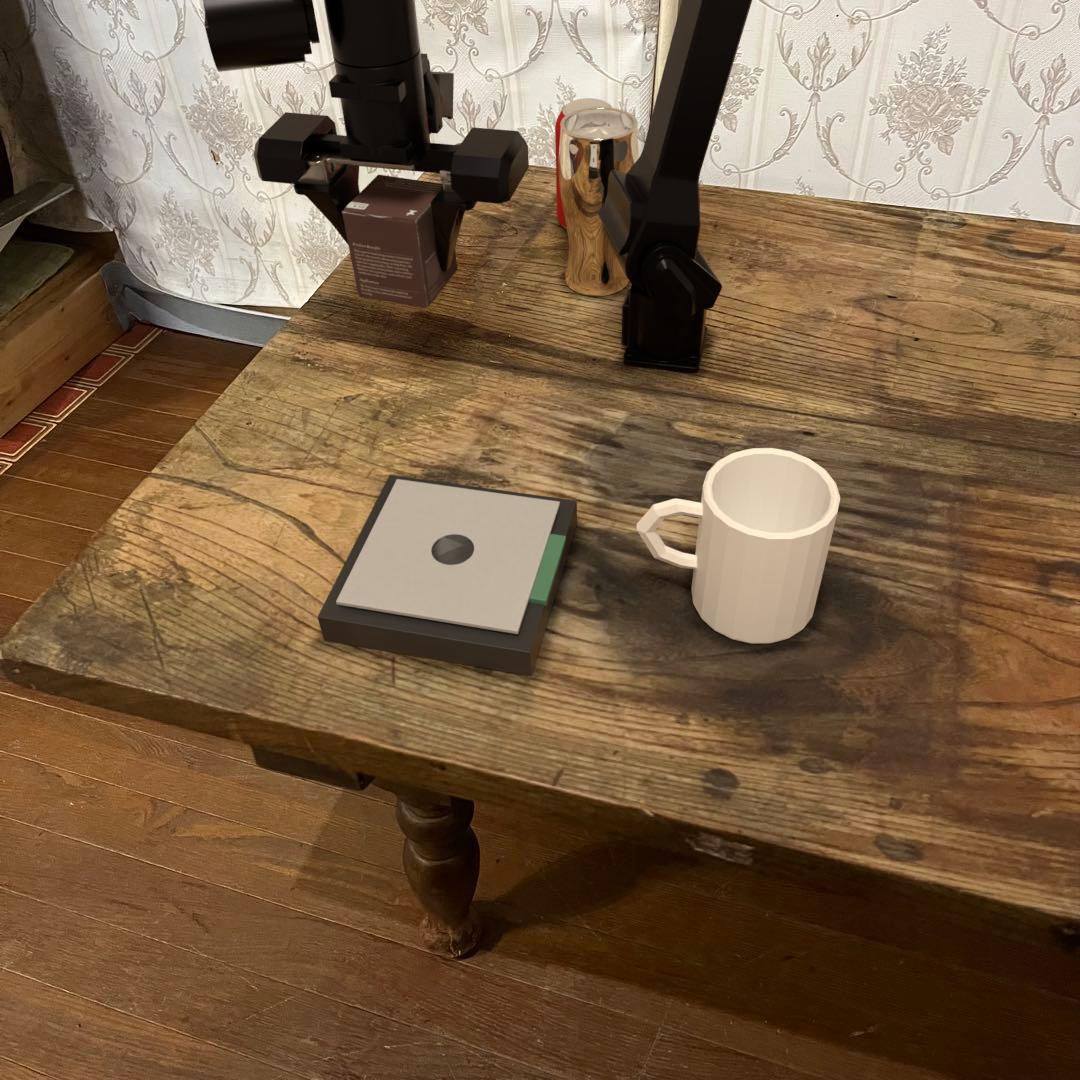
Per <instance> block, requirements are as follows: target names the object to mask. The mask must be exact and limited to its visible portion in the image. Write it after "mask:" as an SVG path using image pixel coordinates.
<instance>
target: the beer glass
mask: <svg viewBox="0 0 1080 1080" xmlns="http://www.w3.org/2000/svg"><path fill="white" fill-rule="evenodd" d="M560 125H561V132H560V146H559V186H560V193H561V200H562V205H563V211H564V216H565V221H566V225H567V229H566V231H567V236H568V257H567V262H566V269H565V273H564V280H565V284H566V286H567V287H569V288H570V290H572V291H574V292H576V293H578V294H581V295H583V296H584V295H585V296H590V297H603V296H610V295H613V294H616V293H619V292H620V291H622V290H623V289H625V288H626V287H627V286H628V284H629V283H630V281H629V280H628V278H627V277H626V275H625V273H624V271H623V269H622V267H621V265H620V264H619V262H618V260H617V258H616V256H615V254H614V252H613V250H612V248H611V246H610V245H609V243H608V241H607V238H606V236H605V233H604V225H603V223H602V221H601V219H600V217H599V216H598V212H599V211H600V209H601V208H602V206H603V205H604V202H605V200H606V197H607V192H608V180H609V174H610V171H611V170H617V171H620V172H624V173H627V172H628V171H629V170H630V169H631V167H632V166H633V165H634V164H635V162H636V161H637V160H638V159H639V157H640V155H639V135H638V133H639V131H638V130H639V129H638V126H639V122H638V119H637V117H636V116H635V115H633V114H632V113H630V112H628V111H626V110H623V109H620V108H617V107H612V108H610V107H591V108H584V109H580V110H576V111H573V112H571V113H569V114H567V115H566V116H565V117H564V118H563V119H562V120H561V124H560Z"/></svg>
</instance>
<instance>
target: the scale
mask: <svg viewBox="0 0 1080 1080" xmlns="http://www.w3.org/2000/svg"><path fill="white" fill-rule="evenodd" d="M366 518H367V519H366V521H365V522H364V524H363V526H362V528H361V530H360V532H359V533H358V536H357V538H356V540H355V542H354V544H353V545H352V548H351V550H350V552H349V554H348V556H347V558H346V559H345V562H344V563H343V566H342V568H341V569H340V572H339V573H338V576H337V577H336V579H335V582H334V583H333V585H332V587H331V589H330V591H329V593H328V594H327V597H326V599H325V601H324V603H323V605H322V606H321V609H320V611H319V613H318V615H317V620H318V624H319V628H320V631H321V634H322V635H321V636H322V638H323V641H325V642H331V643H337V644H342V645H348V646H354V647H359V648H365V649H372V650H377V651H383V652H388V653H395V654H400V655H407V656H412V657H418V658H424V659H429V660H435V661H442V662H446V663H453V664H459V665H464V666H469V667H477V668H482V669H488V670H494V671H499V672H505V673H510V674H515V675H521V676H522V675H523V676H527V677H528V676H529V677H531V676H532V675H533V672H534V668H535V665H536V663H537V659H538V655H539V652H540V649H541V646H542V643H543V638H544V636H545V632H546V629H547V625H548V623H549V619H550V616H551V612H552V609H553V606H554V603H555V599H556V596H557V593H558V589H559V585H560V583H561V579H562V576H563V572H564V569H565V566H566V562H567V559H568V556H569V553H570V549H571V545H572V543H573V539H574V537H575V532H576V530H577V526H578V500H575V499H568V498H560V497H553V496H547V495H540V494H539V495H538V494H532V493H525V492H518V491H517V492H516V491H512V490H511V491H510V490H505V489H504V490H503V489H497V488H489V487H481V486H474V485H468V484H467V485H466V484H460V483H453V482H445V481H440V480H439V481H438V480H431V479H424V478H417V477H410V476H403V475H394V474H389V475H388V477H387V479H386V481H385V483H384V484H383V487H382V489H381V491H380V493H379V495H378V497H377V498H376V500H375V502H374V504H373V507H372V508H371V510H370V512H369V514H368V516H367V517H366Z"/></svg>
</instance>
